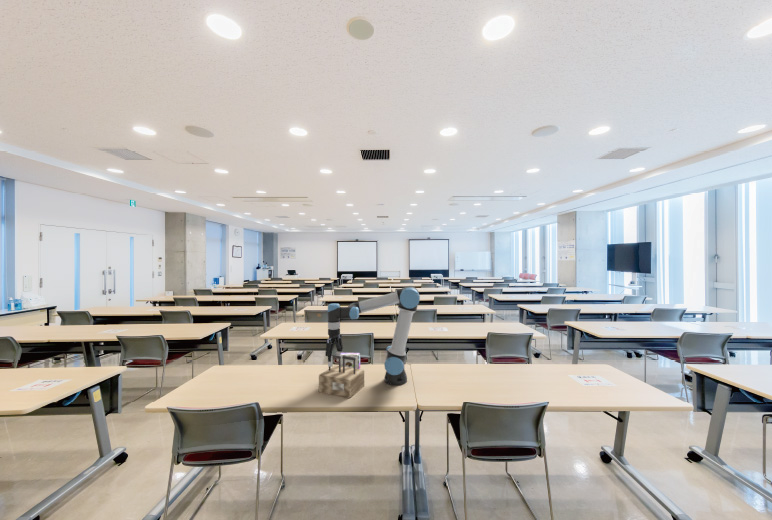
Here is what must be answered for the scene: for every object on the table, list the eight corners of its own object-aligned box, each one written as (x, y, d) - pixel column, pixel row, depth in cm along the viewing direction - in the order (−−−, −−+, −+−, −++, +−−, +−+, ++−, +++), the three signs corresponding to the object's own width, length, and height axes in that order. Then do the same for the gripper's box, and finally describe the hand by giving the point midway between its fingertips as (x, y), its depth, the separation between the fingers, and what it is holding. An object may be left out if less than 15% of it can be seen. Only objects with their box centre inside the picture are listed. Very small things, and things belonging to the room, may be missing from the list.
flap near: (357, 375, 194) (357, 357, 194) (349, 381, 186) (349, 362, 185) (327, 370, 203) (327, 353, 203) (319, 375, 195) (318, 358, 194)
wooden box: (364, 386, 202) (364, 370, 202) (349, 398, 186) (349, 381, 185) (335, 380, 211) (335, 366, 211) (318, 392, 195) (318, 375, 194)
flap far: (363, 370, 202) (363, 353, 201) (356, 376, 193) (356, 358, 193) (335, 366, 211) (334, 349, 210) (327, 371, 202) (326, 354, 202)
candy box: (360, 376, 219) (360, 352, 219) (359, 379, 213) (358, 355, 213) (341, 375, 220) (340, 352, 220) (339, 378, 215) (338, 354, 214)
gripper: (338, 324, 210) (338, 357, 211) (318, 331, 191) (319, 368, 191) (348, 325, 207) (348, 359, 208) (329, 332, 188) (329, 370, 188)
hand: (334, 363), depth 200 cm, fingers open, 9 cm apart
